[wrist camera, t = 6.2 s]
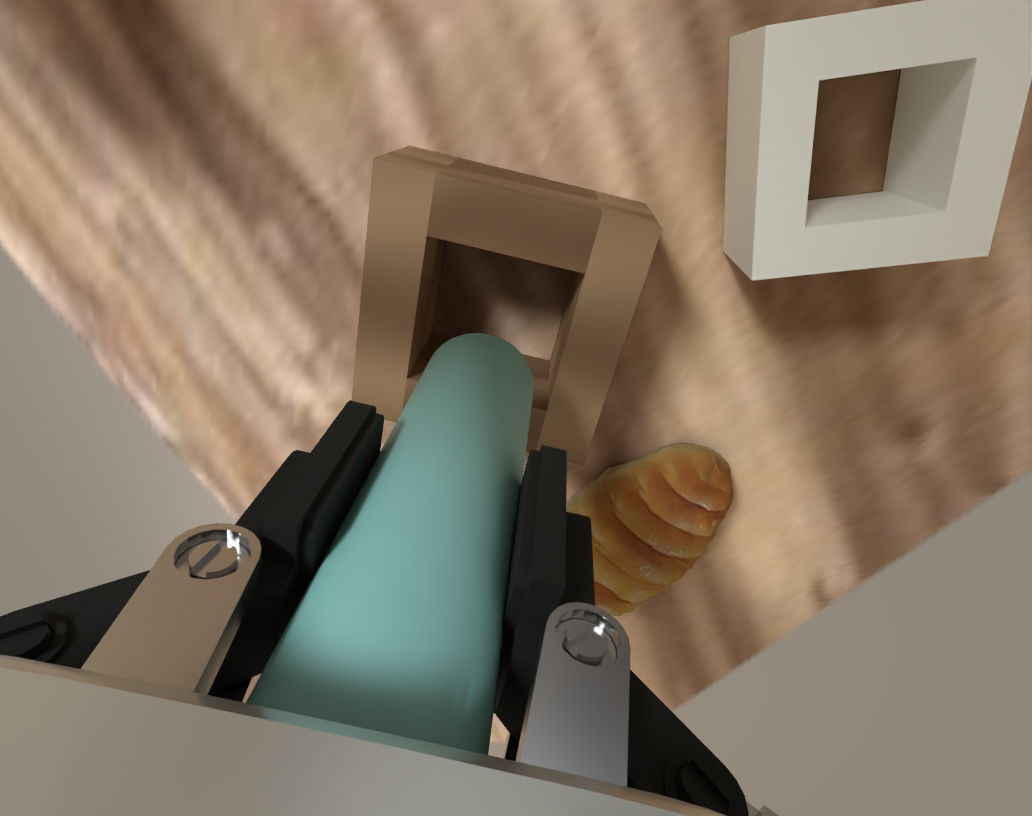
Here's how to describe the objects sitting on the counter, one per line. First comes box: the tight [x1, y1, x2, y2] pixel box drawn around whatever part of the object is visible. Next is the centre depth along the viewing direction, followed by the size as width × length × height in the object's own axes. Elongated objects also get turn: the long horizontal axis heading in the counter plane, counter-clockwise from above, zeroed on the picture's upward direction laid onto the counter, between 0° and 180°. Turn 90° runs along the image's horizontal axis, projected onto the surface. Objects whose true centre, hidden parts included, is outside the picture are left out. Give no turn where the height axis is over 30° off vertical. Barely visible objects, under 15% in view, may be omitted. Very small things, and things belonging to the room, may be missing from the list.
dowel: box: [246, 333, 534, 755], centre depth 11 cm, size 3×3×14 cm
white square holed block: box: [723, 0, 1032, 281], centre depth 19 cm, size 7×7×4 cm
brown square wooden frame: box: [352, 146, 662, 464], centre depth 22 cm, size 9×9×4 cm
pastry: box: [566, 443, 733, 616], centre depth 27 cm, size 9×7×4 cm
